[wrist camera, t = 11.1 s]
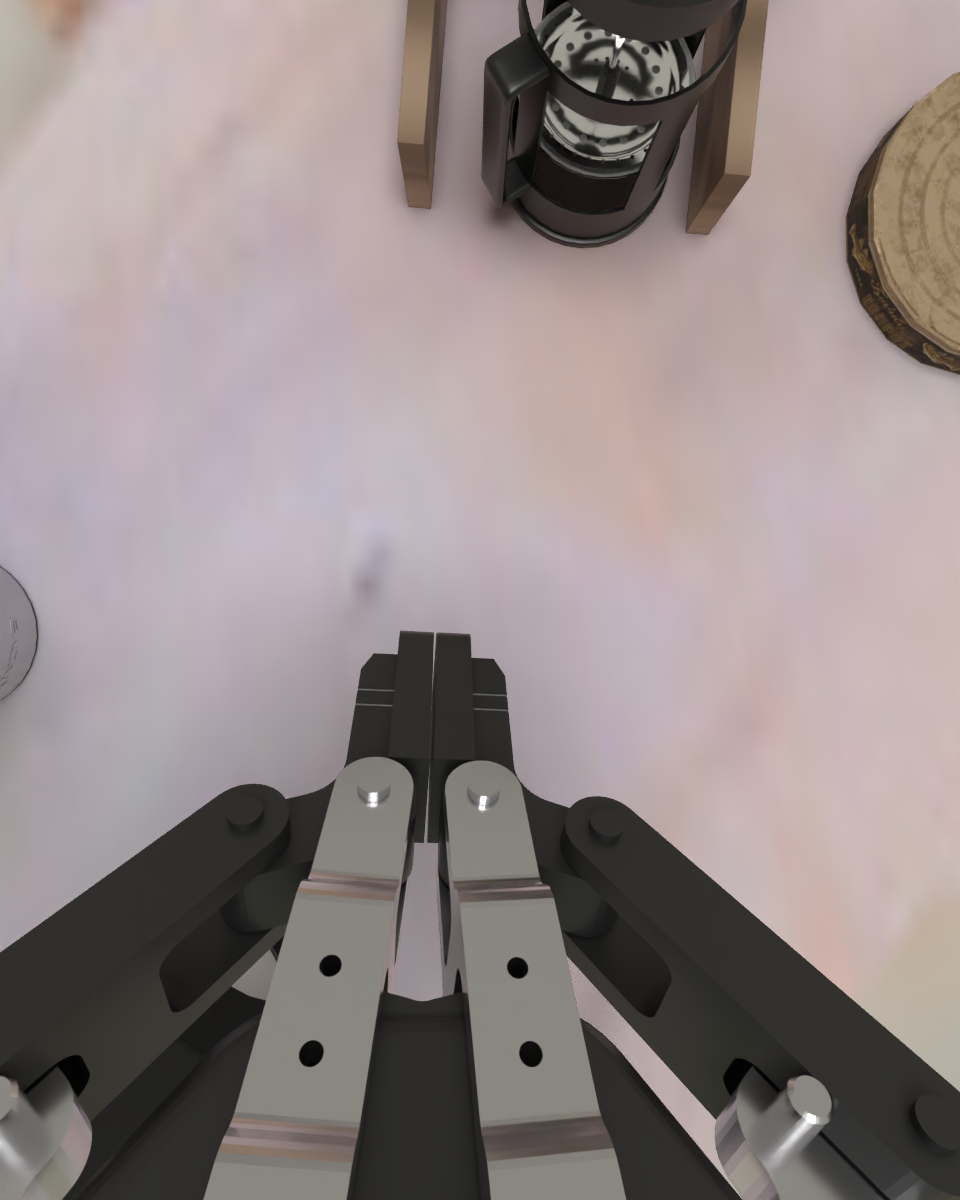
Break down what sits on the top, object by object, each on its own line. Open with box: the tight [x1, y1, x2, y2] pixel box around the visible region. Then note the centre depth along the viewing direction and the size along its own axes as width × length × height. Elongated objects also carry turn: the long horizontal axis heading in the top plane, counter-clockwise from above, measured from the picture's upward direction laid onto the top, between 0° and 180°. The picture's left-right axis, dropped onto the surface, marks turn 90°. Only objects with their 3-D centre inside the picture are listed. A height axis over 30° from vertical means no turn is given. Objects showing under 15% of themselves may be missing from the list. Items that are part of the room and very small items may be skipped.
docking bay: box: [398, 0, 768, 234], centre depth 34 cm, size 14×20×10 cm
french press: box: [482, 0, 747, 247], centre depth 28 cm, size 12×9×23 cm
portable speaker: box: [62, 936, 284, 1200], centre depth 37 cm, size 26×10×10 cm, turn 142°
